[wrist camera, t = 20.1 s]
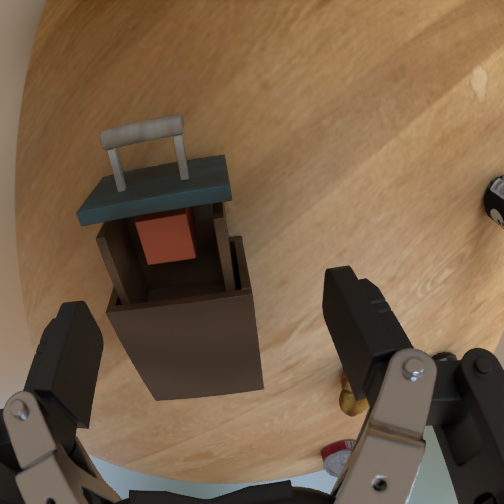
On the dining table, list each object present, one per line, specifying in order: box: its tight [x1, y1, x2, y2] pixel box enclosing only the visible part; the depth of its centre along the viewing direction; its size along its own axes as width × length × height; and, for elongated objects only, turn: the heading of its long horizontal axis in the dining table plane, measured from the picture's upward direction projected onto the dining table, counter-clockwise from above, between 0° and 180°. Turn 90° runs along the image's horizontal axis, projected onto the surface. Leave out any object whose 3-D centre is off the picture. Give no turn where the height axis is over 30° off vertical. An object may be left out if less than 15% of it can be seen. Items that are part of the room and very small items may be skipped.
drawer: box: [77, 114, 236, 305], centre depth 27 cm, size 18×11×7 cm, turn 5°
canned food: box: [321, 439, 356, 478], centre depth 71 cm, size 11×10×10 cm
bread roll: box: [339, 371, 369, 416], centre depth 46 cm, size 13×10×8 cm
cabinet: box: [106, 236, 264, 401], centre depth 33 cm, size 15×13×9 cm
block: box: [135, 207, 197, 265], centre depth 27 cm, size 4×4×4 cm
